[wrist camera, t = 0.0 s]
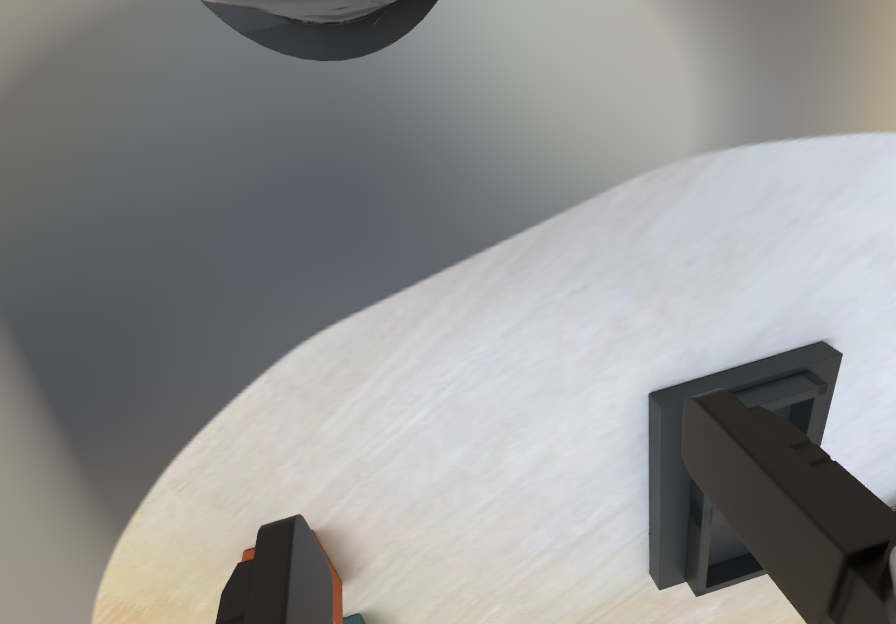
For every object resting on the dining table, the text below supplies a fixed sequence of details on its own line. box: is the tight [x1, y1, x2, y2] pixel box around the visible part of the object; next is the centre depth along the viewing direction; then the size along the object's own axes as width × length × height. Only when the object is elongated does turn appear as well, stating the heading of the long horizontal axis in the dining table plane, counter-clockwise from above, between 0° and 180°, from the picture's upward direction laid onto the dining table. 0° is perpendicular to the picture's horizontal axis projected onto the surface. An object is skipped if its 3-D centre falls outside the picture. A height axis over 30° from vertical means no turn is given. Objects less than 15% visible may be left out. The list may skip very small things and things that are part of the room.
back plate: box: [649, 342, 843, 597], centre depth 36 cm, size 20×12×3 cm, turn 12°
